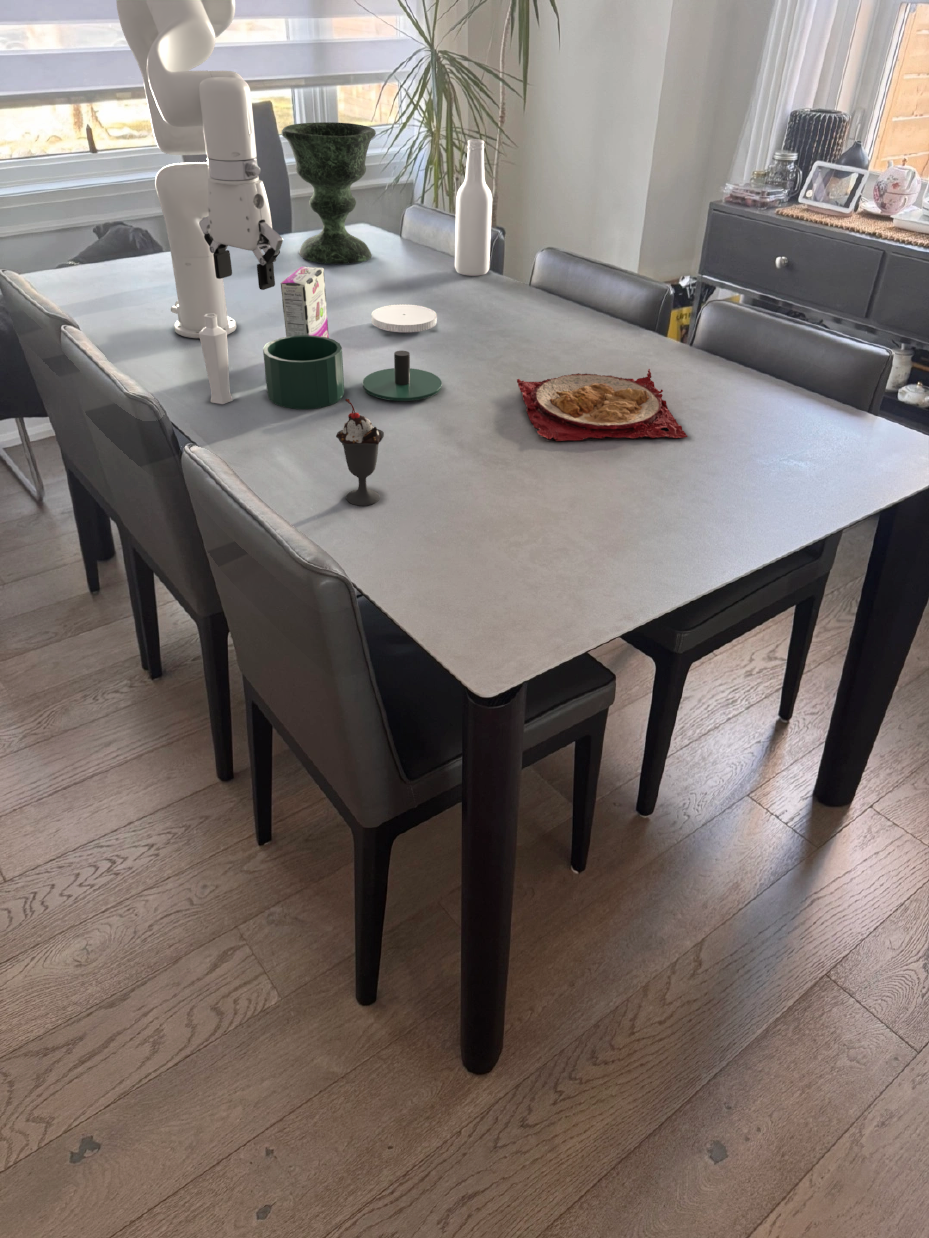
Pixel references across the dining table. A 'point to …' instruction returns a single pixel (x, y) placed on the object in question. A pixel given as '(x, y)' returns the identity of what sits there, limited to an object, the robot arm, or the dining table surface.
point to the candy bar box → (305, 303)
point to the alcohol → (473, 216)
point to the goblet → (331, 184)
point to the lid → (402, 381)
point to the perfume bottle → (216, 359)
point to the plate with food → (598, 408)
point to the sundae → (360, 454)
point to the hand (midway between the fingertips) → (245, 282)
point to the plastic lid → (404, 318)
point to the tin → (304, 371)
